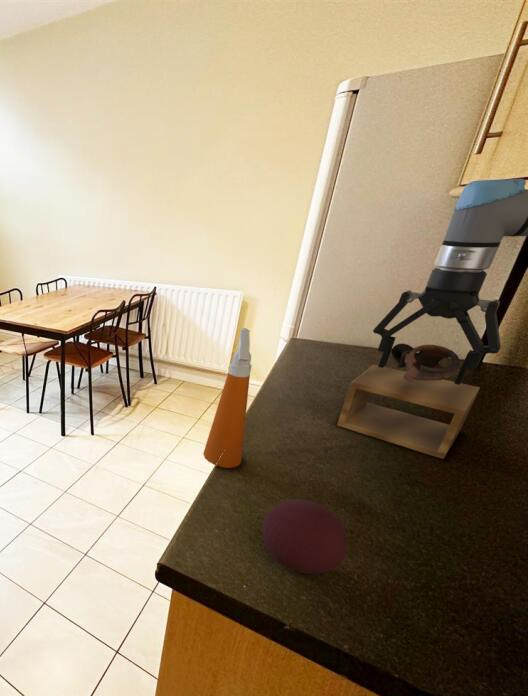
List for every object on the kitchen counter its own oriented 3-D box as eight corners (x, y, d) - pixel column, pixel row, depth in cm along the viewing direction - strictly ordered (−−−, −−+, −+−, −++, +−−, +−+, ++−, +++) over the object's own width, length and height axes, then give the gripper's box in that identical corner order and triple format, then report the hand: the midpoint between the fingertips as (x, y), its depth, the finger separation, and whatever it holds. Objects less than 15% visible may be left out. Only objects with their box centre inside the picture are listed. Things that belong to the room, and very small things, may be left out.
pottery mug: (460, 382, 86) (478, 356, 80) (423, 406, 86) (439, 382, 80) (400, 351, 94) (412, 326, 88) (366, 373, 94) (376, 349, 88)
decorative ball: (283, 593, 56) (301, 537, 52) (242, 538, 65) (255, 486, 61) (354, 588, 56) (378, 532, 52) (304, 534, 65) (321, 482, 61)
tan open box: (459, 432, 91) (480, 387, 86) (443, 459, 82) (466, 410, 78) (359, 404, 104) (373, 364, 100) (336, 425, 95) (351, 382, 91)
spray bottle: (239, 444, 89) (265, 326, 79) (241, 471, 80) (271, 343, 70) (204, 437, 92) (224, 323, 82) (202, 464, 83) (225, 339, 73)
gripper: (376, 265, 85) (345, 363, 94) (556, 278, 68) (497, 397, 77) (386, 261, 90) (356, 355, 98) (559, 273, 72) (503, 386, 81)
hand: (418, 373), depth 88 cm, fingers closed on pottery mug, 11 cm apart
